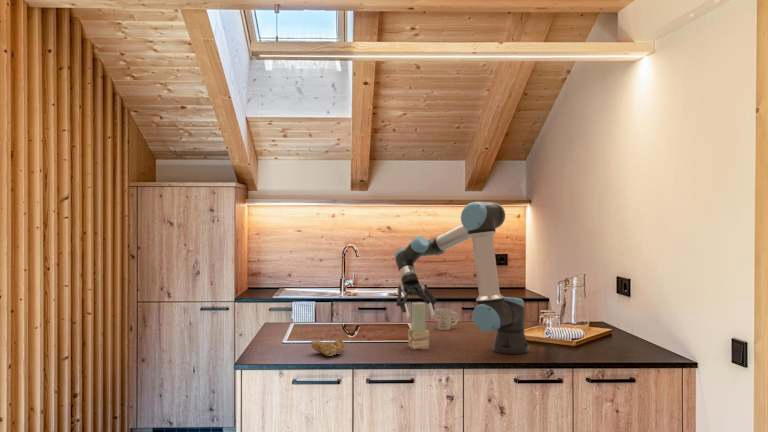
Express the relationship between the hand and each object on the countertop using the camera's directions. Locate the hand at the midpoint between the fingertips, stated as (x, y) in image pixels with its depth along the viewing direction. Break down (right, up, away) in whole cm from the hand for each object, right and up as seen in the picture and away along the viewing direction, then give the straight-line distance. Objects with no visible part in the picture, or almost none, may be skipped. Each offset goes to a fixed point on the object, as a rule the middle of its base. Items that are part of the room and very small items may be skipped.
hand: (420, 317), depth 270 cm
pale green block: (-1, -6, +3) cm, 7 cm away
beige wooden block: (-1, -14, +3) cm, 15 cm away
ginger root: (-39, -15, -8) cm, 43 cm away
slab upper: (-1, -10, +3) cm, 11 cm away
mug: (+17, -14, +47) cm, 51 cm away
